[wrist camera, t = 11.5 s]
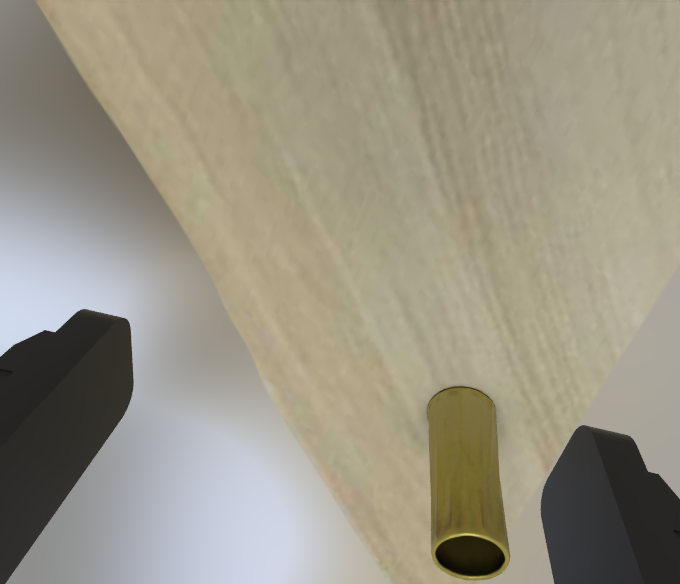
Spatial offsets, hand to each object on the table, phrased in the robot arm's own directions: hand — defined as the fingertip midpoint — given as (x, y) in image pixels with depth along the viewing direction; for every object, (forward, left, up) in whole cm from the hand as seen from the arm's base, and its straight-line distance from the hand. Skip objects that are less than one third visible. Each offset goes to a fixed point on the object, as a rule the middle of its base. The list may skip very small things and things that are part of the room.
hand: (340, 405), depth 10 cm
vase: (+26, +11, -30) cm, 41 cm away
